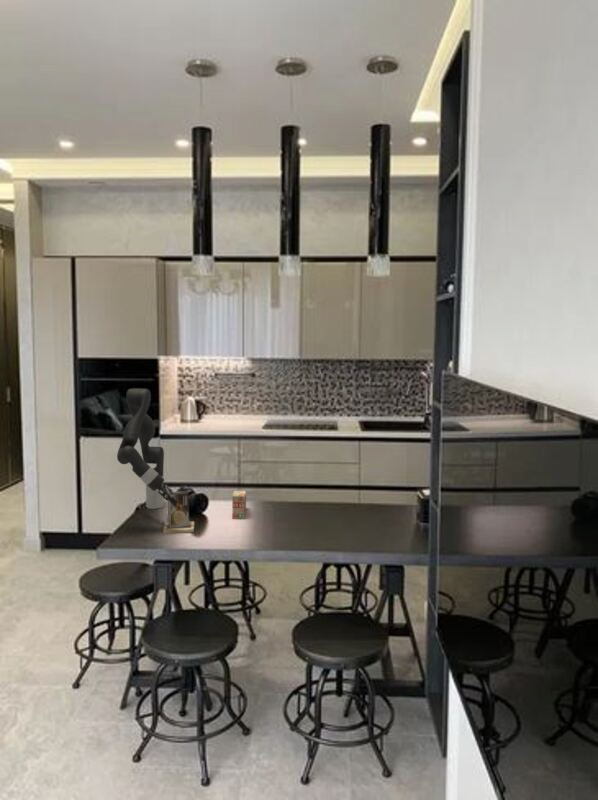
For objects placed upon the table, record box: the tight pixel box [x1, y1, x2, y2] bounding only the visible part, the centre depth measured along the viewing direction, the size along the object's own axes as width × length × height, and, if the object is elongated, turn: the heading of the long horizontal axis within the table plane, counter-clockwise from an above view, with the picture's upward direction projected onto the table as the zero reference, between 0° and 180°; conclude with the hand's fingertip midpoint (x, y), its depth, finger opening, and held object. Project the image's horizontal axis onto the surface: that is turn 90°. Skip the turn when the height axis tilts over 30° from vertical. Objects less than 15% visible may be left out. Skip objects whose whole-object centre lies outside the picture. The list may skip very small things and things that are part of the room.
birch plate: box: [162, 520, 195, 534], centre depth 295 cm, size 14×14×2 cm
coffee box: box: [167, 490, 190, 528], centre depth 295 cm, size 9×6×16 cm
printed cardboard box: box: [231, 490, 247, 520], centre depth 324 cm, size 21×6×12 cm, turn 3°
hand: (176, 501), depth 294 cm, fingers open, 8 cm apart
